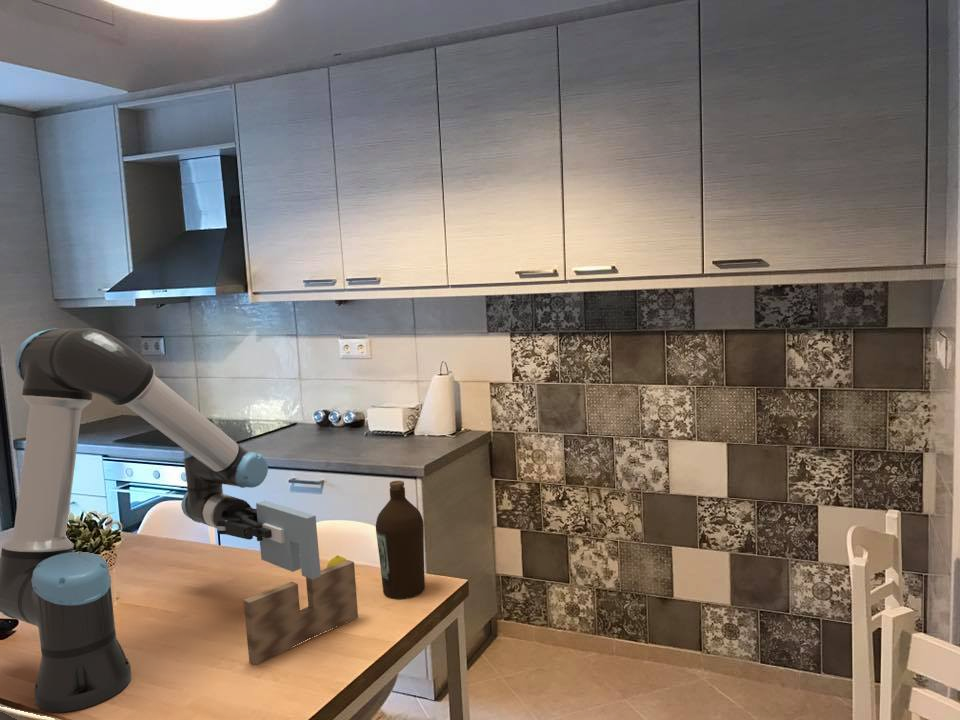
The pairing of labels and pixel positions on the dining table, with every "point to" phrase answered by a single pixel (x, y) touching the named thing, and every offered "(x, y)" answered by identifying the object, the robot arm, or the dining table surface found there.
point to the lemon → (336, 561)
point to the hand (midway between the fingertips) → (288, 534)
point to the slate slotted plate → (290, 539)
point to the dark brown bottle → (401, 546)
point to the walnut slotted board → (299, 612)
